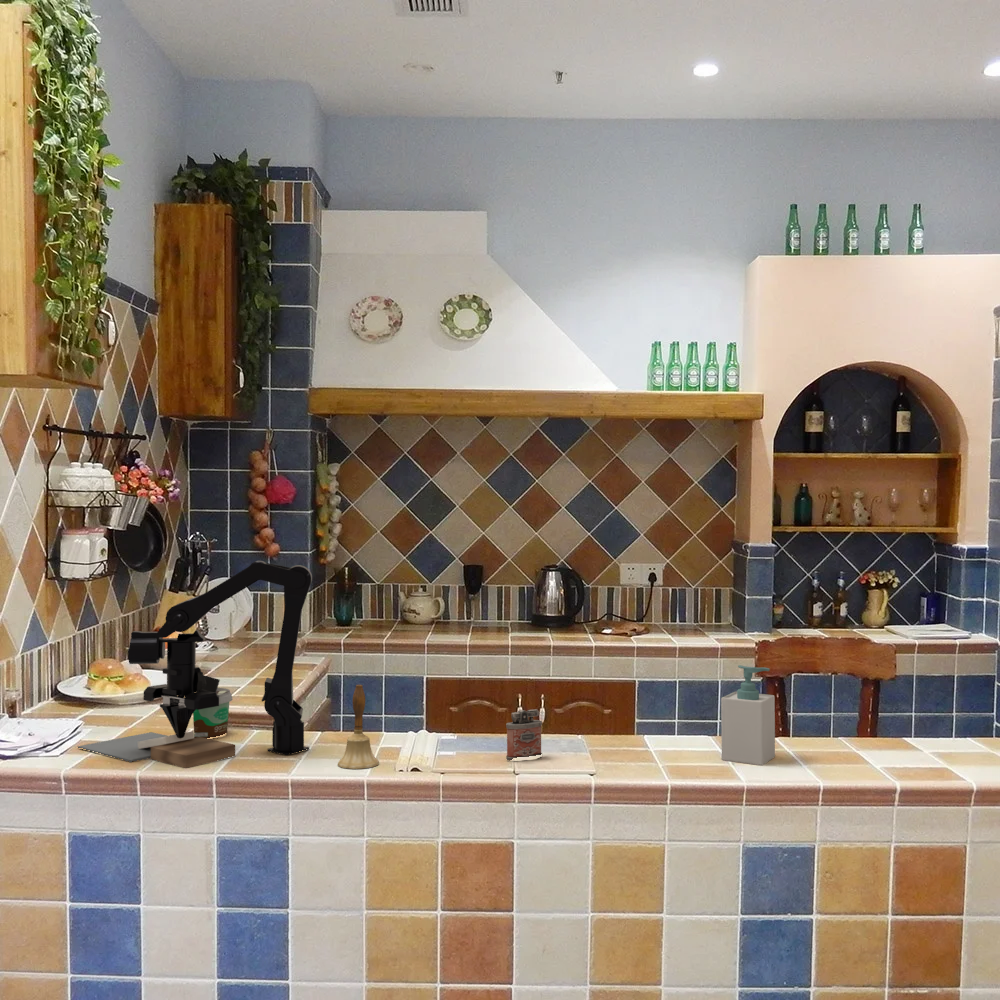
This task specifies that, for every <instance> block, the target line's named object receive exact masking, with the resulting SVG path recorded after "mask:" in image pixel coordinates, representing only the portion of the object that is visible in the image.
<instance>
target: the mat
mask: <svg viewBox="0 0 1000 1000" xmlns="http://www.w3.org/2000/svg"><path fill="white" fill-rule="evenodd" d="M165 736H168V735H167V734H162V733H157V732H152V731H150V732H145V733H139V734H134V735H130V736H129V735H128V736H124V737H119V738H113V739H109V740H104V741H99V742H93V743H88V744H82V745H77V747H78V748H83V749H86V750H90V751H94V752H98V753H101V754H104V755H108V756H112V757H115V758H119V759H123V760H125V761H124V762H127V761H129V762H128V763H133V762H132V761H135V762H138V761H137V760H139V761H143V760H142V759H144V760H148V759H151V747H147V748H141V749H138V742H140V741H145V740H150V739H155V738H160V737H165ZM158 746H159V745H158ZM152 747H154V746H152ZM104 755H103V756H104ZM108 756H107V757H108ZM112 757H111V758H112ZM115 758H114V759H115ZM147 758H148V759H147ZM119 759H118V760H119ZM123 760H122V761H123Z"/></svg>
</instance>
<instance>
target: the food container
mask: <svg viewBox="0 0 1000 1000" xmlns="http://www.w3.org/2000/svg"><path fill="white" fill-rule="evenodd" d="M216 693H217V694H218V695H219V696H220V697H219V706H216V707H210V708H205V709H199V710H195V711H194V712H193V714H192V716H193V717H192V718H193V732H194V738H197V737H203V738H210V737H216V736H220V735H223V734H225V733H227V734H228V727H229V726H228V724H229V713H230V712H229V709H230V702H232V701H233V696H232V692H231V690H230V689H229V688H225V687H218V688H217V692H216Z"/></svg>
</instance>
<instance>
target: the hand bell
mask: <svg viewBox="0 0 1000 1000" xmlns="http://www.w3.org/2000/svg"><path fill="white" fill-rule="evenodd" d="M365 707H366V694H365V690H364V688H363V684H356V685H355V688H354V691H353V695H352V710H353V714H354V727H353V734H352V735H350V736H349V737H347V738H346V739H347V740H346V746H345V751H344V753H343V756H342V757H341V759H340V760H338V762H337V766H338V767H339V768H343V769H350V770H356V769H357V770H362V769H370V768H374V767H376V766H379V764H380V762H379V760H378V758H377V757H376V756H375V755H374V754H373V751H372V748H371V743H370V741H371V740H370V737H369V736H368V735H366V734H364V733H363V729H364V728H363V726H364V724H363V717H364V711H365Z"/></svg>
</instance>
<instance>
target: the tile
mask: <svg viewBox="0 0 1000 1000" xmlns="http://www.w3.org/2000/svg"><path fill="white" fill-rule="evenodd" d="M193 738H194V730H192V731H186V732H185V735H184V737H183V738H177V736H176V734H175V733H174V734H170V735H167V736H165V737H160V738H155V739H150V740H145V741H140V742H138V749H141V748H147V747H152V746H158V745H164V744H169V743H173V742H178V741H183V740H188V739H193Z"/></svg>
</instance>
